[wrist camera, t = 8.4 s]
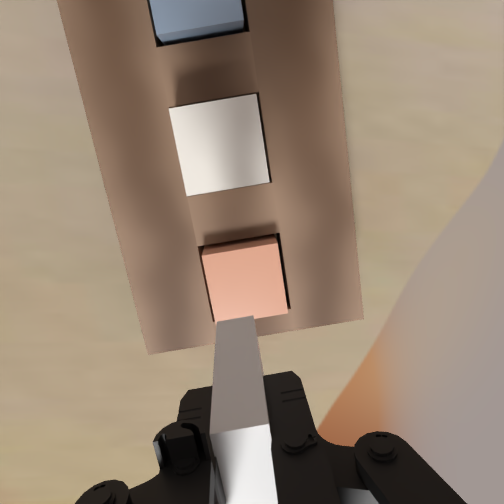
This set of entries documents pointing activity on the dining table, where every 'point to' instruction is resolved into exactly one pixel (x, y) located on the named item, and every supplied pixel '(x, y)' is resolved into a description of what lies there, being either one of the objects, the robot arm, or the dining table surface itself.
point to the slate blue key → (196, 19)
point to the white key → (220, 144)
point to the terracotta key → (245, 278)
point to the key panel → (231, 200)
